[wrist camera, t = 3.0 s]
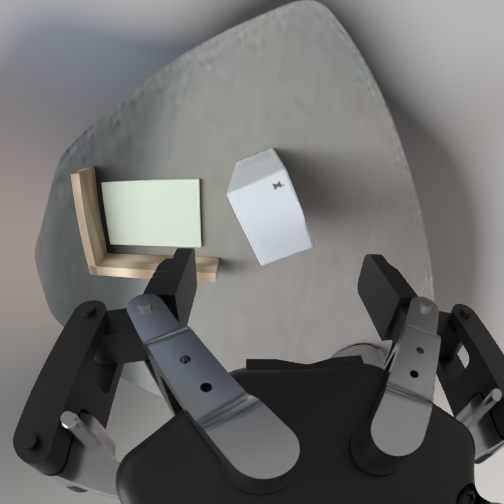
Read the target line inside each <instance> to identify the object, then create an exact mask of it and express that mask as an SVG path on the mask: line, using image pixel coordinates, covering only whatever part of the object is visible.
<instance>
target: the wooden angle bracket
mask: <svg viewBox="0 0 504 504" xmlns="http://www.w3.org/2000/svg"><path fill="white" fill-rule="evenodd" d="M71 180H72V187H73V194H74V201H75V207H76V213H77V218H78V224H79V229H80V233H81V238H82V243H83V247H84V251H85V255H86V259H87V263H88V267H89V271H90V274H93V275H105V276H118V277H131V278H146V279H151V278H152V276H153V274H154V272H155V270H156V268H157V266H158V265H159V263H161V262H162V261H163V260H165V259H166V258H173V256H165V255H140V254H117V253H107V248H106V243H105V238H104V232H103V227H102V221H101V215H100V208H99V201H98V194H97V186H96V177H95V167H87V168H84V169H82V170H80V171H77V172H75V173H73V174H71ZM195 260H196V273H197V281H198V282H216V278H217V273H218V268H219V258H218V257H195Z"/></svg>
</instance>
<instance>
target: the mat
mask: <svg viewBox="0 0 504 504" xmlns="http://www.w3.org/2000/svg"><path fill="white" fill-rule="evenodd" d="M101 185H102V194H103V202H104V209H105V215H106V222H107V228H108V233H109V239H110V244H114V245H147V246H178V247H201V246H202V242H201V217H200V179H151V180H129V181H112V182H102V183H101Z"/></svg>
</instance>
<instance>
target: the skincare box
mask: <svg viewBox="0 0 504 504" xmlns="http://www.w3.org/2000/svg"><path fill="white" fill-rule="evenodd" d="M227 196H228V198H229V200H230V203H231V205H232V207H233V209H234V211H235V214H236V216H237V218H238V220H239V222H240V224H241V226H242V228H243V230H244V232H245V233H246V235H247V237H248V239H249V241H250V244H251V246H252V248H253V250H254V252H255V254H256V256H257V258H258V260H259V262H260V264H261V265H262V266H263V265H265V264H268V263H271V262H273V261H276V260H279V259H282V258H285V257H288V256H291V255H294V254H297V253H299V252H302V251H305V250H308V249H311V248H313V247H314V243H313V241H312V238H311V235H310V232H309V229H308V226H307V223H306V220H305V217H304V214H303V211H302V208H301V206H300V203H299V200H298V197H297V195H296V192H295V190H294V187H293V184H292V182H291V179H290V177H289V174H288V172H287V170H286V168H285V166H284V164H283V163H282V161H281V160H280V158H279V157H278V155H277V153H276V152H275V150H274V148H270V149H268V150H265V151H263V152H260V153H257V154H255V155H253V156H250V157H248V158H246V159H243V160H241V161H238V162H237V163H236V166H235V169H234V173H233V176H232V179H231V182H230V186H229V189H228V192H227Z"/></svg>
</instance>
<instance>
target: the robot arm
mask: <svg viewBox="0 0 504 504" xmlns="http://www.w3.org/2000/svg"><path fill="white" fill-rule="evenodd" d="M196 288H197V273H196V260H195V250H194V248H177V250H176V252H175V254H174V256H173V258H166V259H165V260H163V261H162V262H161V263H159V265H158V266H157V268H156V270H155V272H154V274H153V276H152V278H151V279H150V281H149V283H148V285H147V287H146V289H145V291H144V293H143V294H141V295H138V296H136V297H134V298H132V299H131V300H130V301H129V302H128V304H127V306H126V308H124V309H118V310H110V311H107V309H106V306H105V304H104V303H102V302H101V301H96V300H92V301H87V302H84V303H82V304H81V305H79V306H78V307H77V308H76V309H75V310H74V312H73V314H72V315H71V317H70V319H69V320H68V322H67V324H66V325H65V327H64V329H63V331H62V332H61V334H60V336H59V338H58V339H57V341H56V343H55V345H54V347H53V349H52V350H51V352H50V354H49V356H48V358H47V360H46V362H45V364H44V366H43V368H42V370H41V372H40V374H39V376H38V378H37V380H36V383H35V385H34V387H33V389H32V391H31V394H30V396H29V398H28V400H27V403H26V405H25V407H24V410H23V412H22V415H21V417H20V420H19V422H18V426H17V428H16V431H15V433H14V437H13V444H14V448H15V451H16V453H17V455H18V456H19V457H20V458H21V459H22V460H23V461H24V462H26V463H27V464H29V465H30V466H32V467H33V468H35V469H36V470H37V471H38V472H39V473H41V474H42V475H44V476H46V477H47V478H49V479H51V480H53V481H54V482H56V483H58V484H60V485H62V486H65V487H67V488H69V489H71V490H73V491H75V492H86V491H91V492H94V493H97V494H100V495H104V496H107V497H110V498H115V499H118V500H120V502H121V504H500V503H492V502H489V501H487V500H485V499H483V498H482V497H481V496H480V495H479V494H478V492H477V490H476V487H475V482H474V463H476V464H479V463H482V462H483V461H485V460H486V459H488V458H489V457H491V456H492V455H493V454H495V453H496V452H497V451H499V450H500V449H501V448H502V447H504V355H503V353H502V351H501V350H500V348H499V347H498V345H497V344H496V342H495V341H494V339H493V338H492V336H491V335H490V333H489V332H488V330H487V329H486V327H485V326H484V324H483V323H482V322H481V320H480V319H479V318H478V316H477V315H476V313H475V312H474V311H473V310H472V309H471V308H469V307H468V306H466V305H462V304H456V305H455V306H454V307H453V309H452V311H451V313H446V312H441V311H439V309H438V306H437V305H436V304H435V303H434V302H433V301H432V300H430V299H428V298H425V297H420V296H419V297H418V296H417V294H416V293H415V292H414V290H413V289H412V288H411V286H410V285H409V284H408V283H407V281H406V280H405V279H404V278H403V276H402V275H401V273H400V272H399V271H398V270H397V269H396V268H394V267H393V266H391V265H390V264H389V263H388V262H387V261H386V259H385V258H384V257H383V256H382V255H378V254H367V255H366V256H365V258H364V262H363V265H362V269H361V273H360V277H359V281H358V293H359V296H360V297H361V299H362V301H363V303H364V305H365V307H366V309H367V311H368V313H369V315H370V317H371V319H372V321H373V323H374V326H375V328H376V330H377V332H378V334H379V336H380V338H381V340H382V341H384V340H392V341H393V342H392V344H391V346H390V348H389V351H388V354H387V356H386V358H385V355H384V353H383V351H382V349H376V348H374V347H373V346H370V345H356V346H352V347H349V348H346V349H344V350H342V351H341V352H339V353H338V354H336V355H335V356H334V357H333V358H331V359H327V360H324V361H320V362H316V363H313V364H300V363H294V362H288V361H283V360H278V359H246V368H241V369H238V370H234V371H232V372H229V373H228V372H227V370H226V369H225V368H224V367H223V366H222V365H221V364H220V362H219V361H218V360H217V359H216V358H215V357H214V355H213V354H212V353H211V352H210V351H209V350H208V348H207V347H206V346H205V345H204V343H203V342H202V341H201V340H200V339H199V337H198V336H197V335H196V334H195V332H194V331H193V330H192V329H191V328H190V327H189V326H187V324H188V320H189V316H190V312H191V308H192V304H193V301H194V297H195V293H196ZM462 345H464V347H465V348H466V350H467V352H468V354H469V358H470V359H469V364H468V366H467V367H466V369H465V368H464V366H463V364H462V362H461V360H460V358H459V356H458V355H457V353H458V352H459V350H460V348H461V347H462ZM136 361H144V363H145V365H146V367H147V369H148V370H149V372H150V374H151V376H152V378H153V379H154V381H155V383H156V385H157V386H158V388H159V390H160V392H161V393H162V395H163V397H164V399H165V401H166V403H167V405H168V407H169V409H170V410H171V412H172V414H173V415H174V417H173V418H171V419H170V420H169V421H168V422H167V423H165V424H164V425H163V426H162V427H160V428H159V429H158V430H157V431H156V432H154V433H153V434H152V435H151V436H149V437H148V438H147V439H145V440H144V441H143V442H142V443H141V444H139V445H138V446H136V447H135V448H134V449H132V450H131V451H130V452H129V453H128V454H127V455H126V456H125V457H124V458H123V460H122V461H121V462H118V461H117V459H116V455H115V443H114V440H113V438H112V437H111V435H110V434H109V433H108V432H107V431H106V426H107V422H108V418H109V414H110V410H111V406H112V403H113V399H114V396H115V392H116V389H117V385H118V382H119V379H120V375H121V372H122V369H123V366H124V363H129V362H136ZM436 374H437V376H438V378H439V381H440V383H441V385H442V388H443V390H444V392H445V395H446V397H447V400H448V402H449V405H450V407H451V410H452V412H453V415H454V417H453V416H451V415H450V414H448V413H447V412H445V411H444V410H442V409H441V408H440V407H438V406H436V405H435V404H434V403H432V402H431V401H430V399H431V394H432V390H433V385H434V380H435V375H436Z"/></svg>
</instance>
